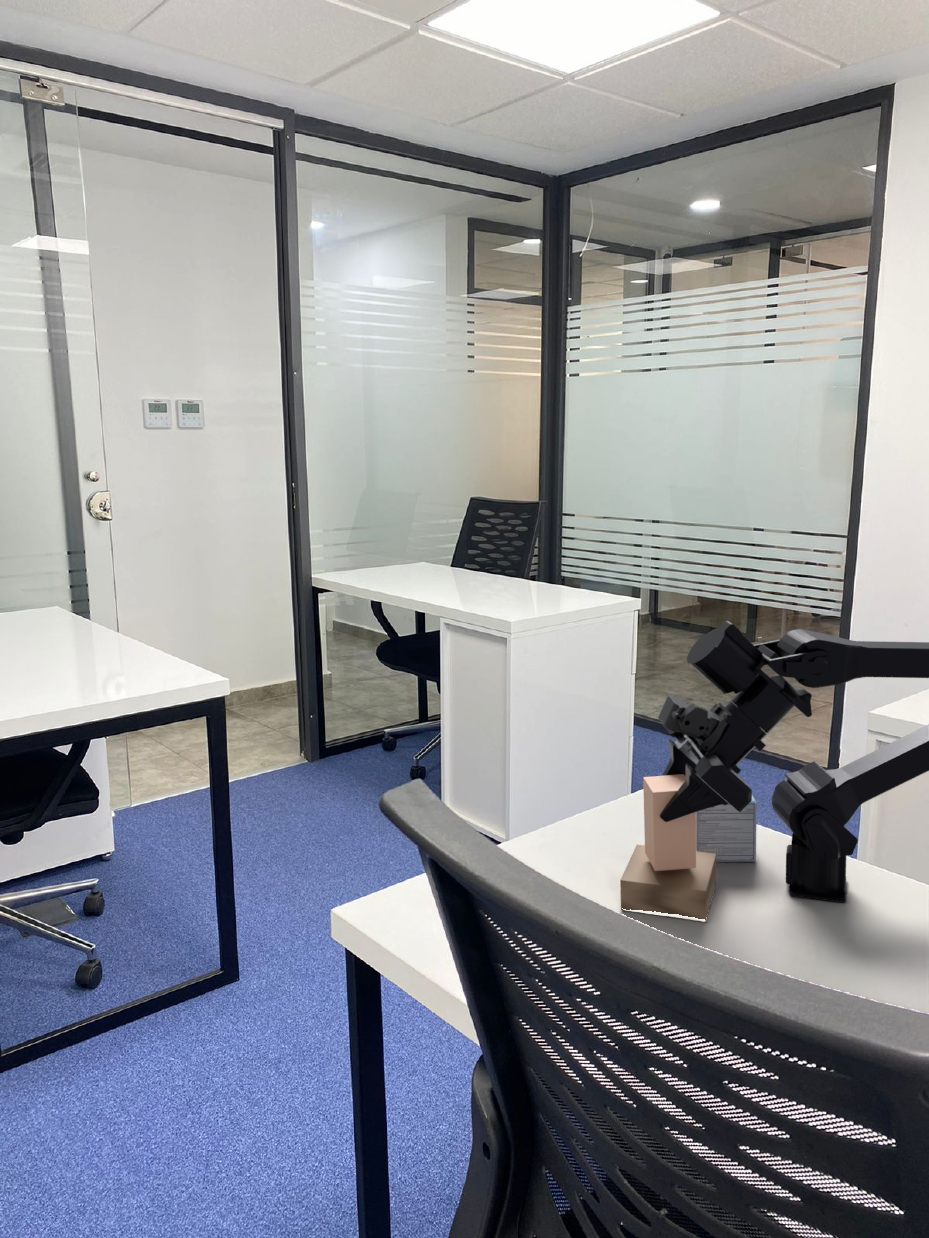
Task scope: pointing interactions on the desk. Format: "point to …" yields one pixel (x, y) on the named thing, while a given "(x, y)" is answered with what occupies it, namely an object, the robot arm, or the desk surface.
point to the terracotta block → (667, 826)
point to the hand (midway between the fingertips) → (657, 810)
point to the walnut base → (668, 886)
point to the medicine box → (727, 832)
